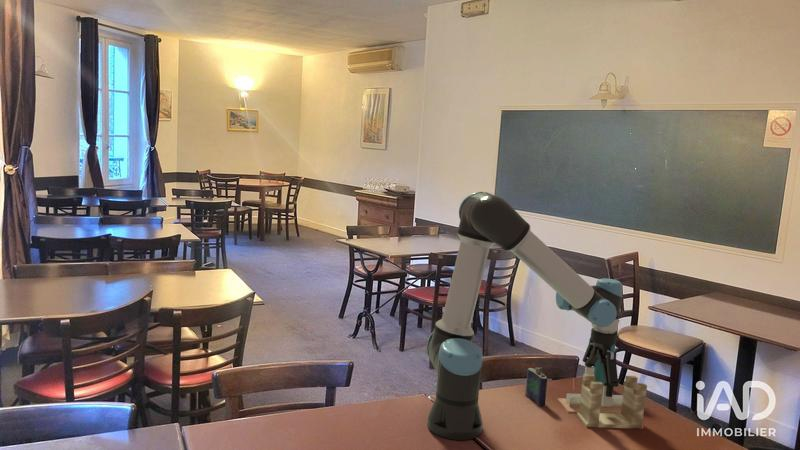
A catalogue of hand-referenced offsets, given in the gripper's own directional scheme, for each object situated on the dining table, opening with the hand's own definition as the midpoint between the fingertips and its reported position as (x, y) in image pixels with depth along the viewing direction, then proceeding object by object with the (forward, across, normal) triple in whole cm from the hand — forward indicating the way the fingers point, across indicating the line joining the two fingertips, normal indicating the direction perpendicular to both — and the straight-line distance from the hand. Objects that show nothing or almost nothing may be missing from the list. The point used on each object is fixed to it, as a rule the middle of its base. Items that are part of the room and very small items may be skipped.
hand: (596, 396), depth 178 cm
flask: (+4, +4, +18) cm, 19 cm away
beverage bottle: (+4, +14, -8) cm, 17 cm away
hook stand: (+4, -10, 0) cm, 11 cm away
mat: (+4, 0, 0) cm, 4 cm away
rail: (+3, 0, 0) cm, 3 cm away
